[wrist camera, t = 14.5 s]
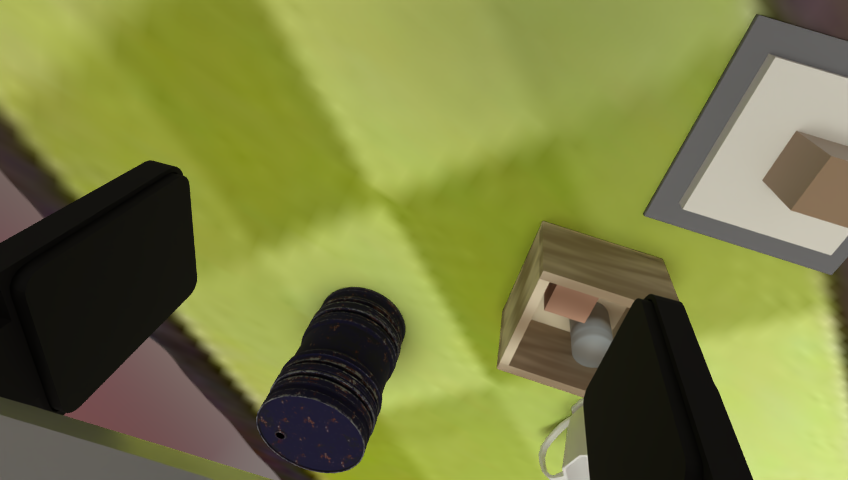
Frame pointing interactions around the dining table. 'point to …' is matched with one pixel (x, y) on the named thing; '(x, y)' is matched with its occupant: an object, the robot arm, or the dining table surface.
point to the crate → (572, 305)
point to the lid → (781, 159)
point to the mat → (715, 115)
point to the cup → (570, 447)
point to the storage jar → (334, 383)
